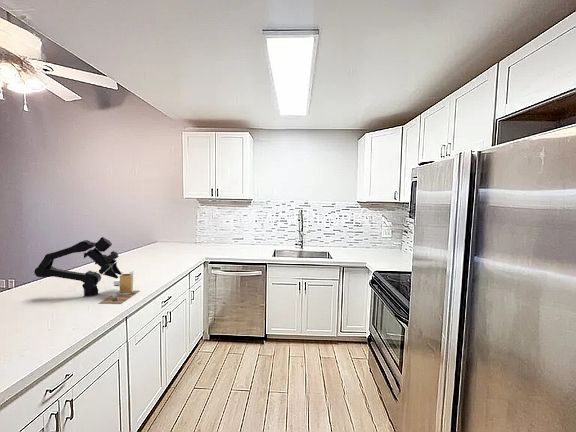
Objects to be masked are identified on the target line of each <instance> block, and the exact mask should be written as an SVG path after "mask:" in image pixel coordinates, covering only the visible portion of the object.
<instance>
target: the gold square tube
mask: <svg viewBox="0 0 576 432" xmlns="http://www.w3.org/2000/svg"><path fill="white" fill-rule="evenodd" d="M119 278H120V286H119V291H120V293H131V292H132V291H134V287H133V286H134V283H133V282H134V273H133V274H130V273H126V274H121V275H119Z"/></svg>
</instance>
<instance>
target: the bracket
mask: <svg viewBox="0 0 576 432" xmlns="http://www.w3.org/2000/svg"><path fill="white" fill-rule="evenodd" d="M120 272H121V274H127V273H126V272H125V270H120ZM129 274H133V275H134V270H131V271H129ZM113 286H119V287H120V277H118V278H117V279H116V278H115V280H113Z"/></svg>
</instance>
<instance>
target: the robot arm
mask: <svg viewBox="0 0 576 432" xmlns="http://www.w3.org/2000/svg"><path fill="white" fill-rule="evenodd" d="M112 246H113V244H112V242H111V241H110V240H109V239H106V238H105V237H104V236H102V237H101V238H99V239H98V240H97V241H96V242H92V241H90V240H89V239H86V240H84V239H83V240H82V241H79V242H77V243H75V244H73V245H72V246H69V247H65V248H63V249H60V250H57V251H54V252H49V253H46V254H45V256H44V257H43V259H42V260H41V262H40V263H39V264H38V267H36V268H35V269H34V271H33V272H34V275H35V277H37V278H52V277H55V278H61V279H65V280H66V279H67V280H73V281H80V282H82V283H83V284H81V285H82V288H83V296H82V297H83V298H85V297H93V296H97V295H99V288H98V286H97V285H98V283H99V282H101V280H102V276H107V277H110V278H114V279H115V280H116V279H118V278H119V276H120V275H121V270H120V269H119V268H118V265H117V263H118V262H117V259H118V258H119V255H118V254H119V253H118V252H117V251H114V250H113V251H111V252H110V254H108V255H107V254H103V253H105V252H106V251H107V250H108V249H109V248H111V247H112ZM86 251H87V252H86ZM75 253H83V259H85V258H87V257H89V258H90V259H91V260H92V261H93V262H94V264H95V265H98V266H99V267H100V268H99V270H98V272H97V271H92V270H87V272H85V273H84V272H79V271H70V270H67V269H66V270H65V269H59V268H56V267H54V266H53V265H54V262H55V260H56V259H59V258H62V257H64V256H65V257H66V256H67V255H70V254H75ZM118 275H119V276H118Z"/></svg>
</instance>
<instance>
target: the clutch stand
mask: <svg viewBox="0 0 576 432" xmlns="http://www.w3.org/2000/svg"><path fill="white" fill-rule="evenodd" d="M139 292H141V290H133V291H132V292H131V293H120V290H118V291H117V292H116V293H112V295H109V296H108V297H107V298H105V299H103V300H102V301H100V302H99V303H97V304H99V305H122V304H124V303H125V302H127V301H128V300H129V299H131V298H133V297H134V296H135V295H137V294H139Z"/></svg>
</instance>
